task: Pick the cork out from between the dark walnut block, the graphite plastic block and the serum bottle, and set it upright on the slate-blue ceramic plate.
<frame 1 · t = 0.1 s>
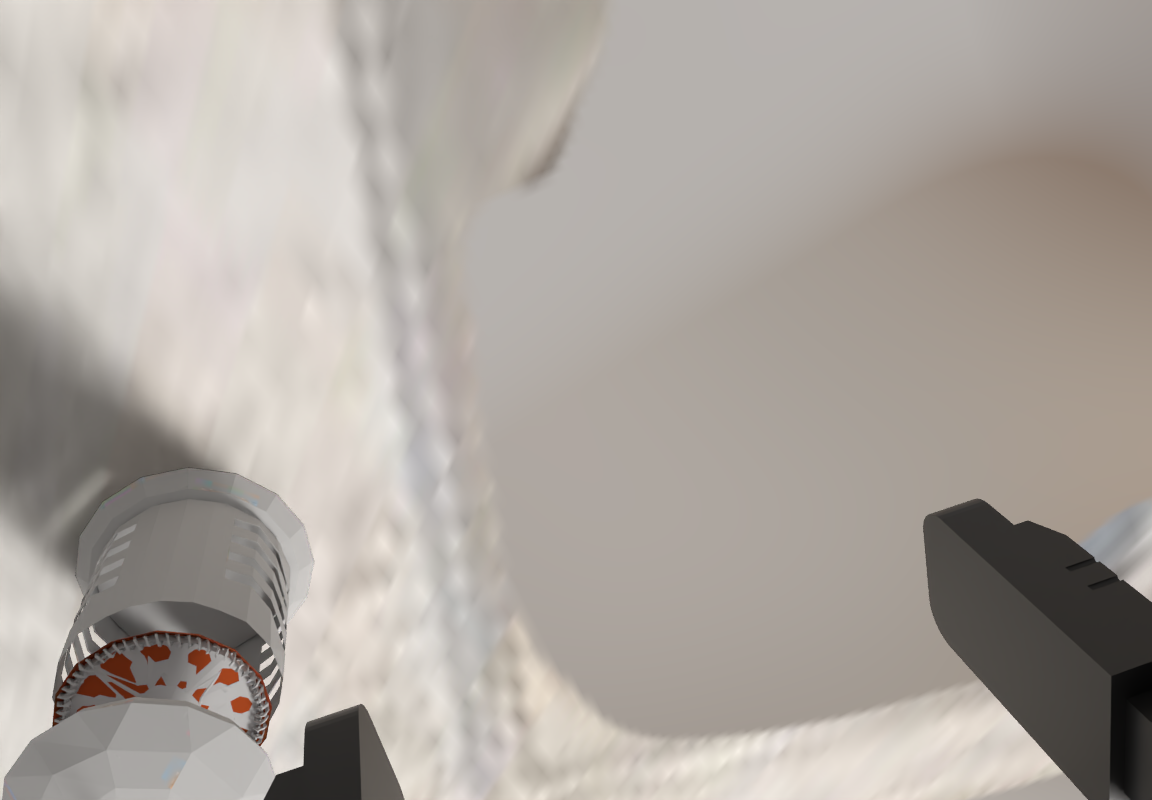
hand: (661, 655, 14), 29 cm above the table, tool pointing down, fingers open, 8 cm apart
french press: (200, 583, 44), on the table
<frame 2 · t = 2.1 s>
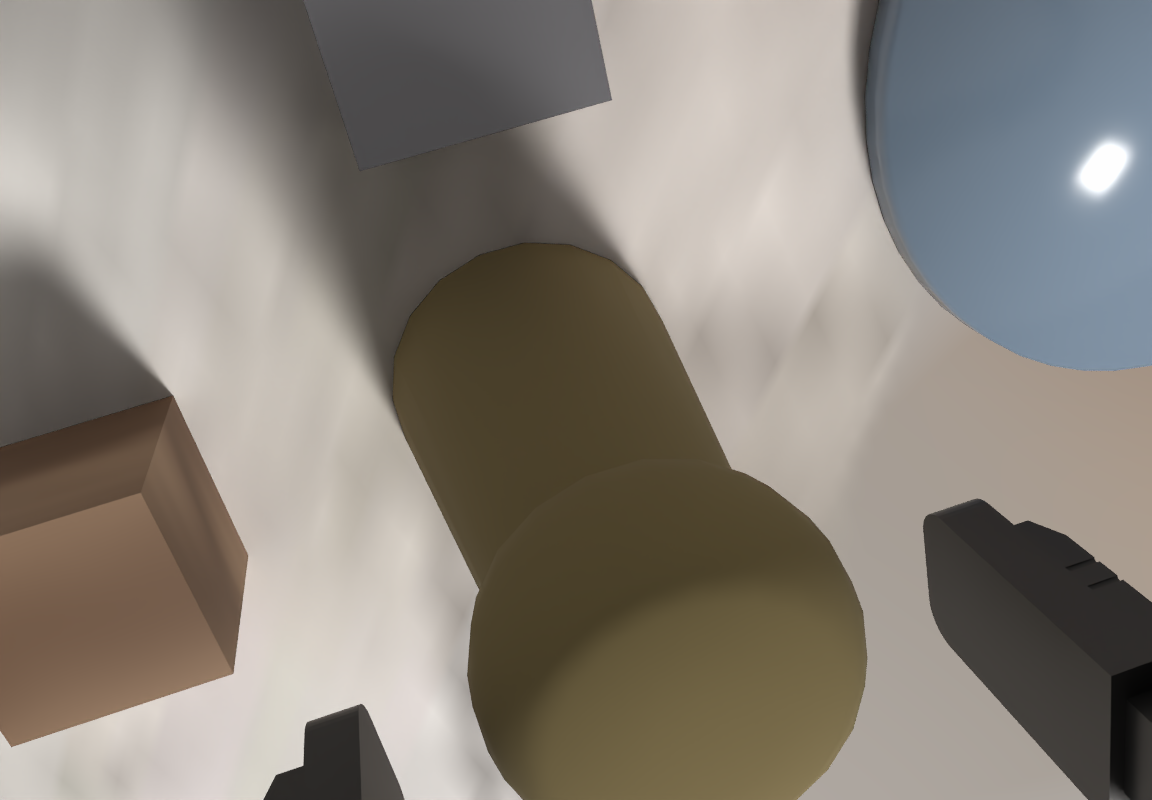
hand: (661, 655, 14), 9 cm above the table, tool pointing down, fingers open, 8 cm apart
walnut block: (116, 506, 21), on the table
cork: (533, 376, 22), on the table
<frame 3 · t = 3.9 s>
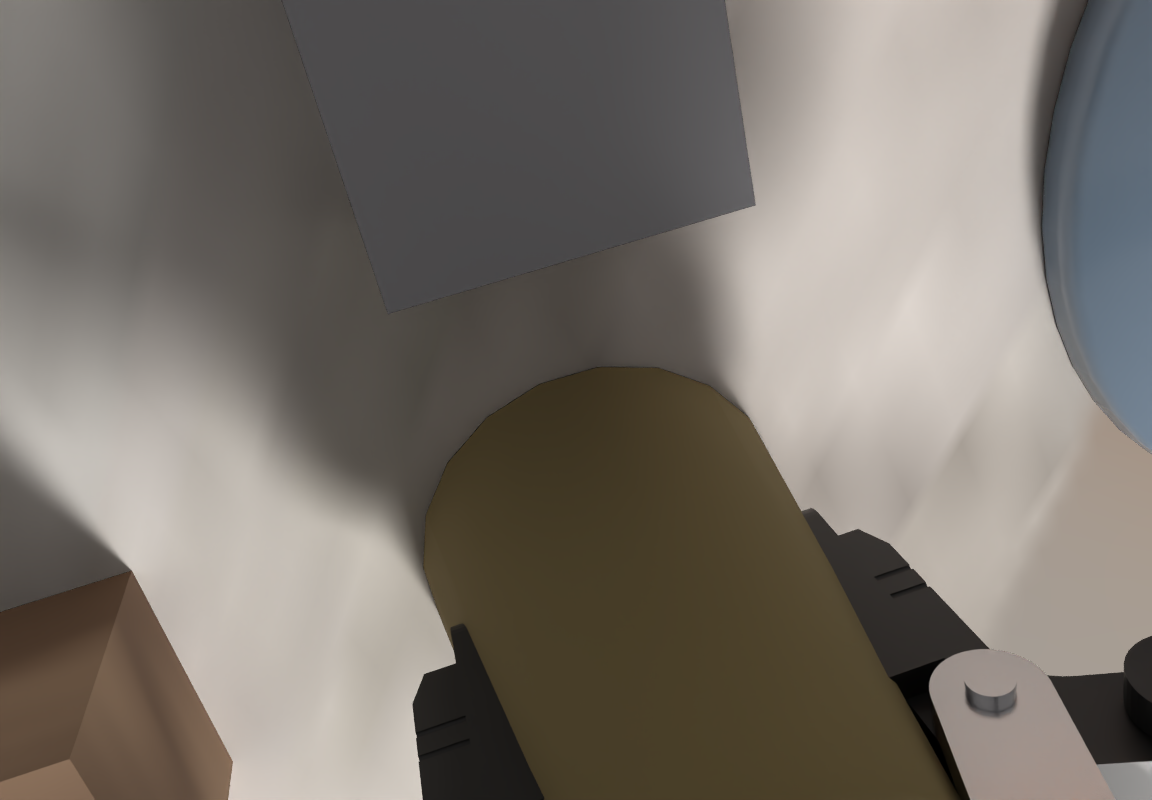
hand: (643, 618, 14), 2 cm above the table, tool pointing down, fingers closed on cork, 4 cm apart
walnut block: (59, 709, 16), on the table
cork: (604, 530, 17), on the table, touching gripper
graphite block: (474, 32, 13), on the table
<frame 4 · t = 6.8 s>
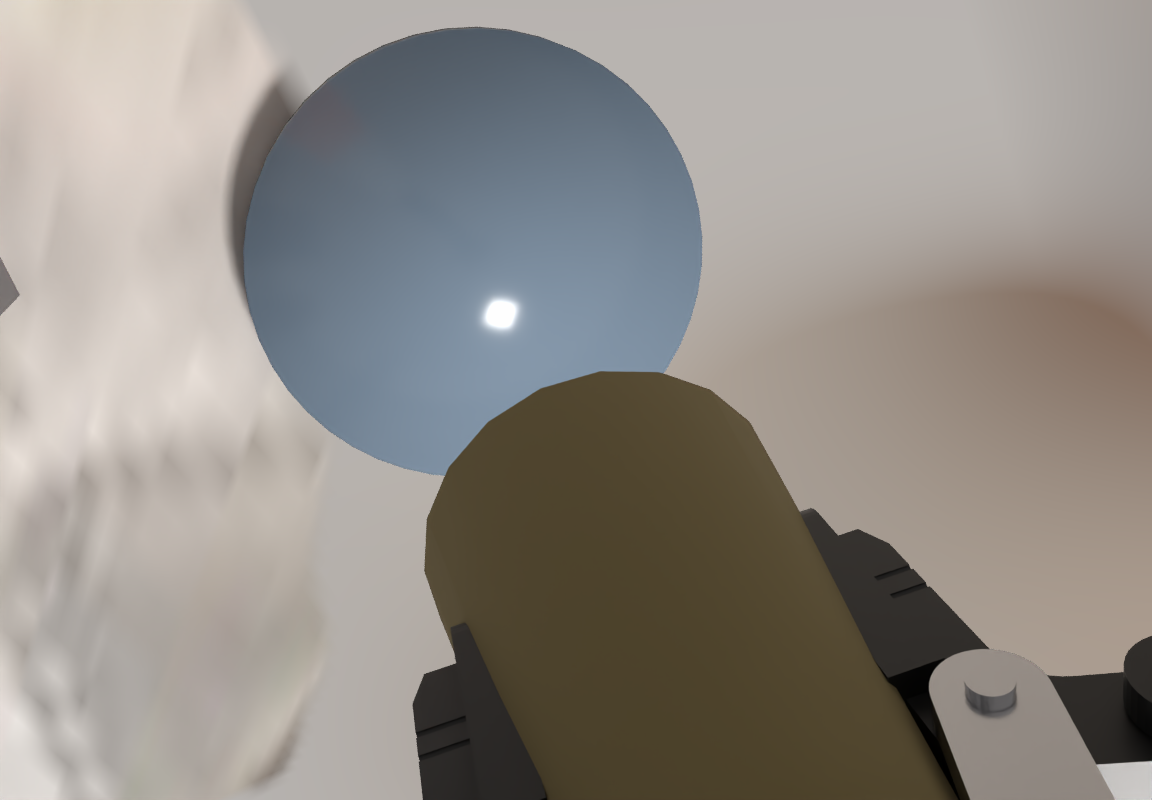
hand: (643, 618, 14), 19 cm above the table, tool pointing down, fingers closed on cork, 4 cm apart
slate plate: (479, 264, 31), on the table
cork: (604, 533, 17), point 16 cm above the table, touching gripper
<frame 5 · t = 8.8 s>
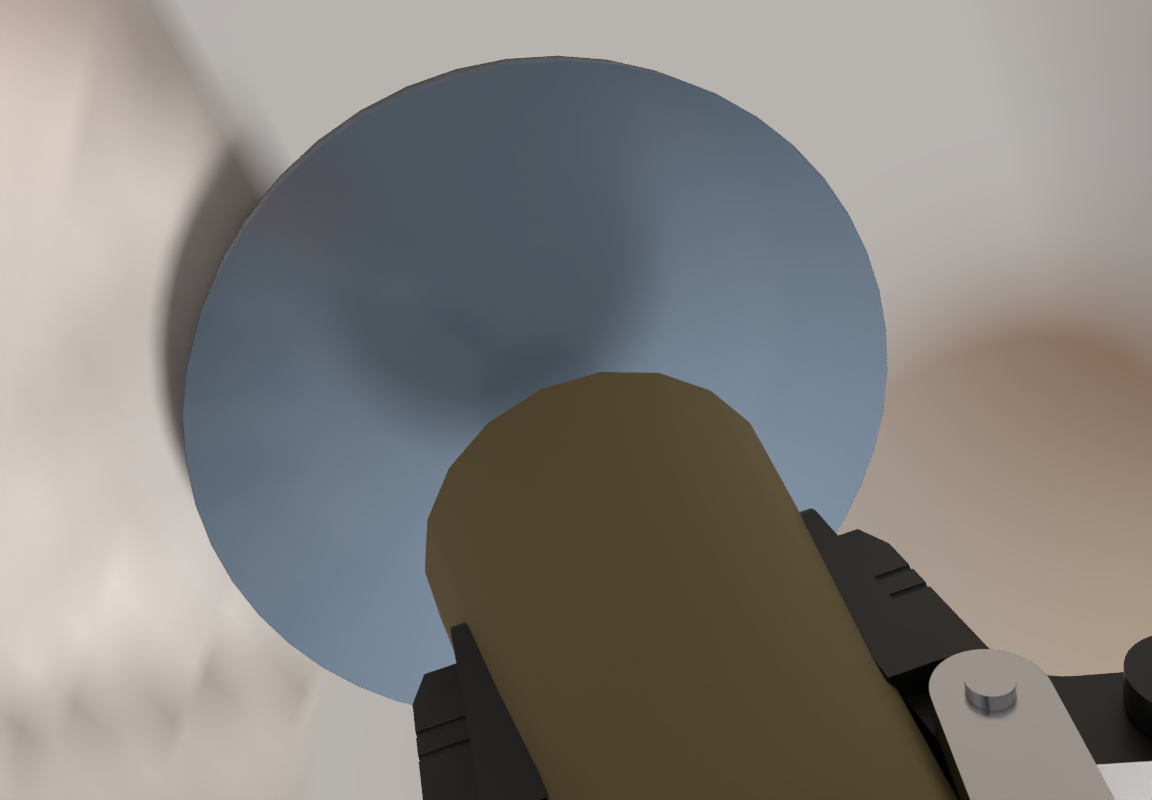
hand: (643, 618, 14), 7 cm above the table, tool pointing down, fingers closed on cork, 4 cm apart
slate plate: (550, 413, 21), on the table
cork: (605, 534, 17), point 5 cm above the table, touching gripper
when the fingers open (5 cm above the table, at t = 10.1 s): cork drops 1 cm, resting on slate plate.
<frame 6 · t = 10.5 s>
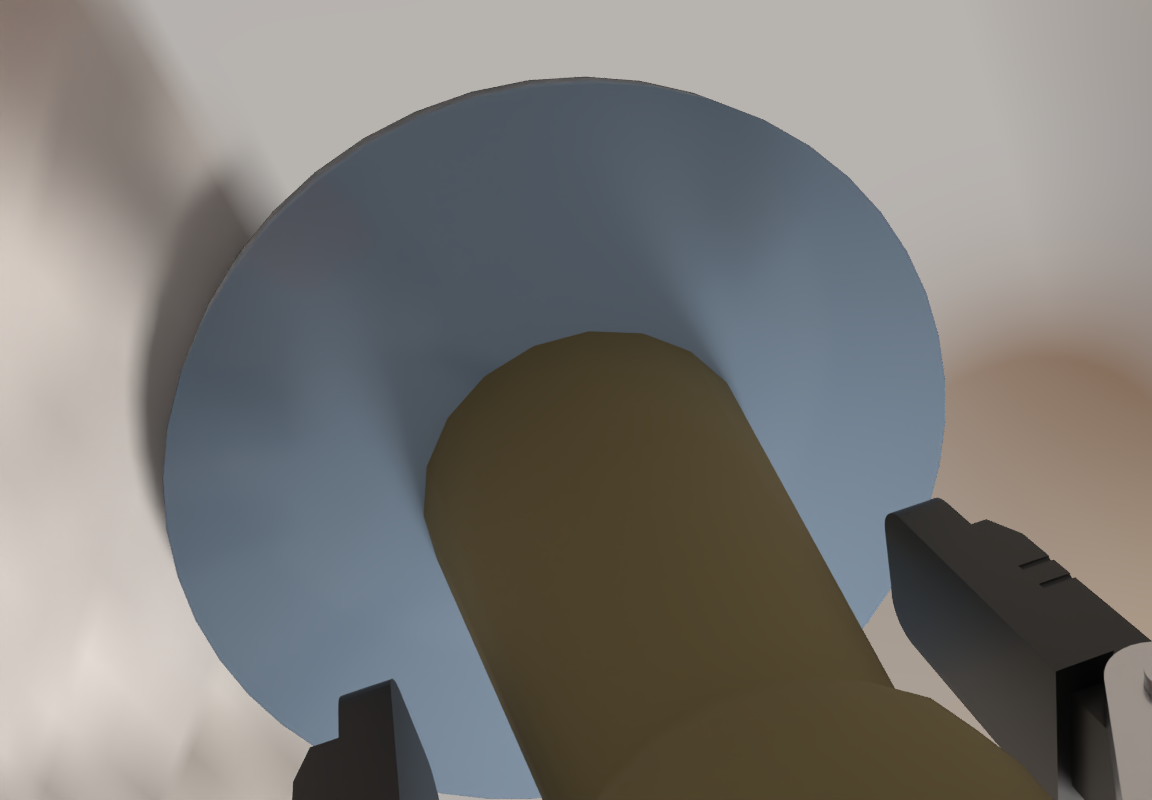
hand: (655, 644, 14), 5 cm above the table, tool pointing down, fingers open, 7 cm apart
slate plate: (573, 469, 19), on the table
cork: (591, 485, 18), point 1 cm above the table, touching slate plate
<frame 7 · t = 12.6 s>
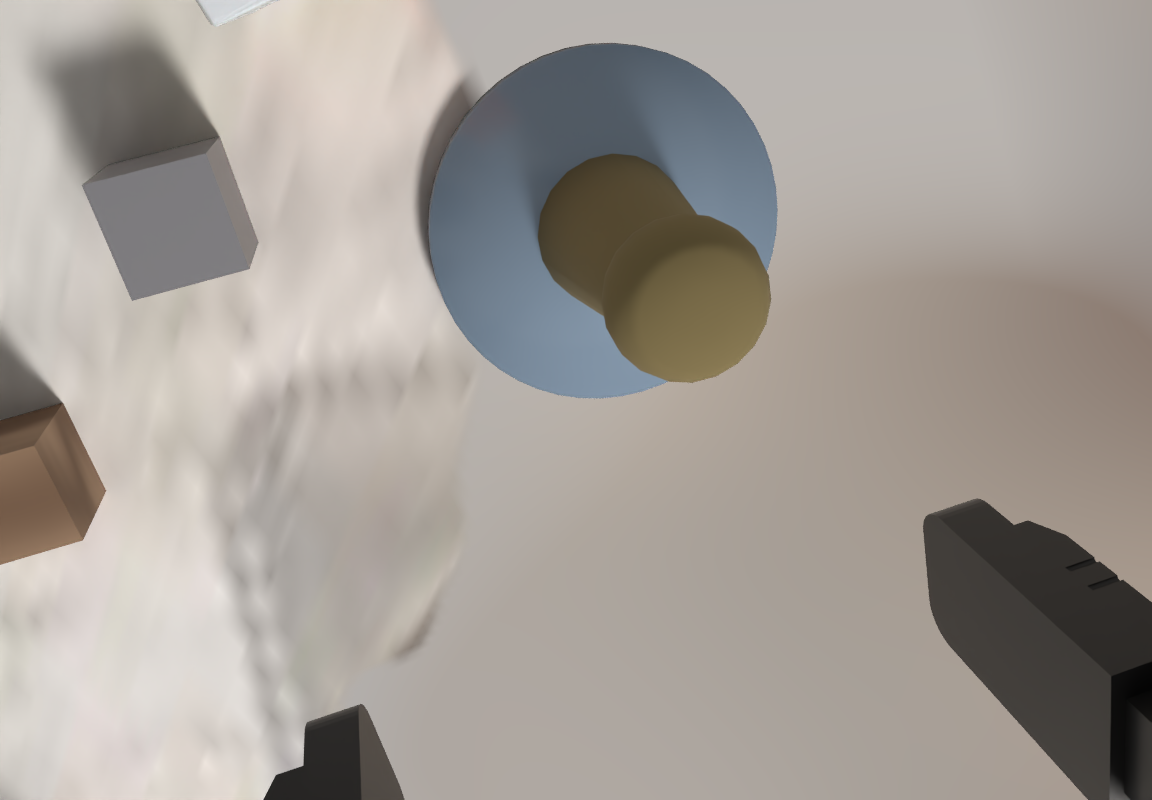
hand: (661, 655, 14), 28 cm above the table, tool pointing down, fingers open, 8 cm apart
walnut block: (34, 461, 39), on the table
slate plate: (603, 227, 40), on the table
cork: (612, 230, 39), point 1 cm above the table, touching slate plate
graphite block: (185, 204, 37), on the table
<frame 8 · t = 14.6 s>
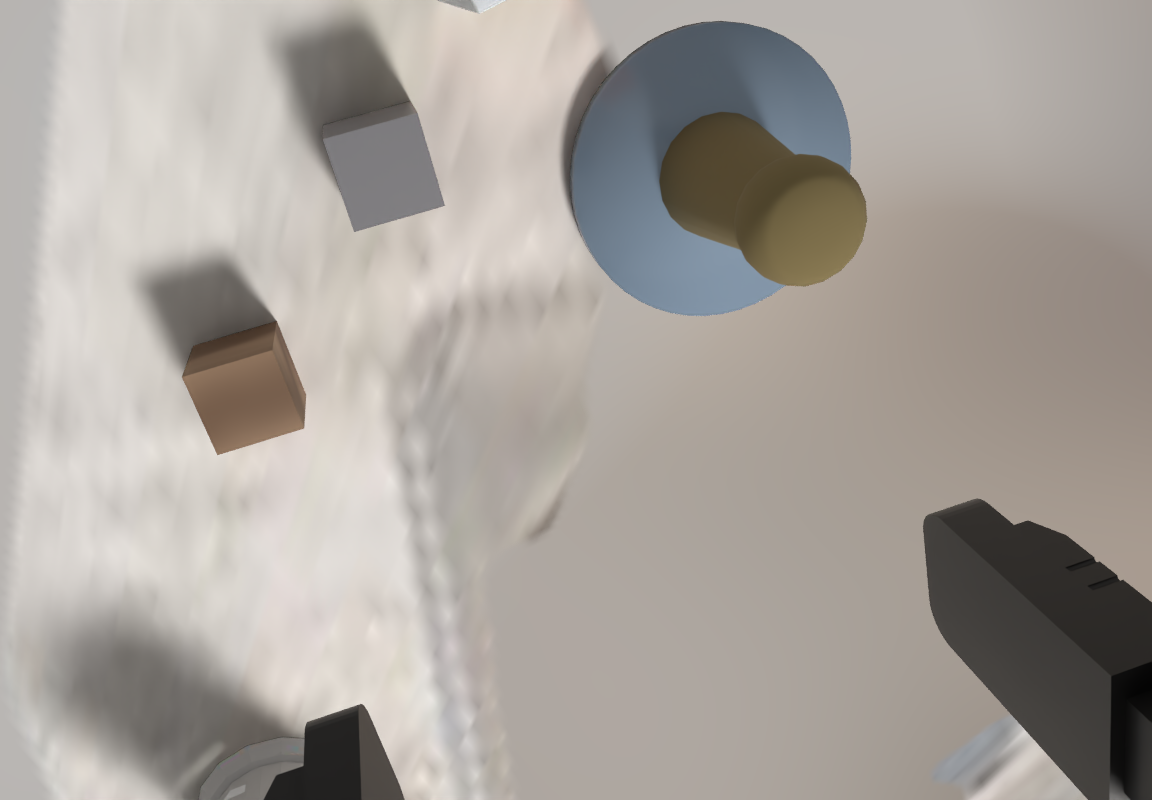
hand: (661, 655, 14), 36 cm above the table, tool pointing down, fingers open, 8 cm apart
walnut block: (250, 370, 48), on the table
slate plate: (709, 173, 49), on the table
cork: (718, 175, 48), point 1 cm above the table, touching slate plate
graphite block: (380, 156, 45), on the table
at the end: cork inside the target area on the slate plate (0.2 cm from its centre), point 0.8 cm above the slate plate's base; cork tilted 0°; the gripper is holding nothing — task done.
